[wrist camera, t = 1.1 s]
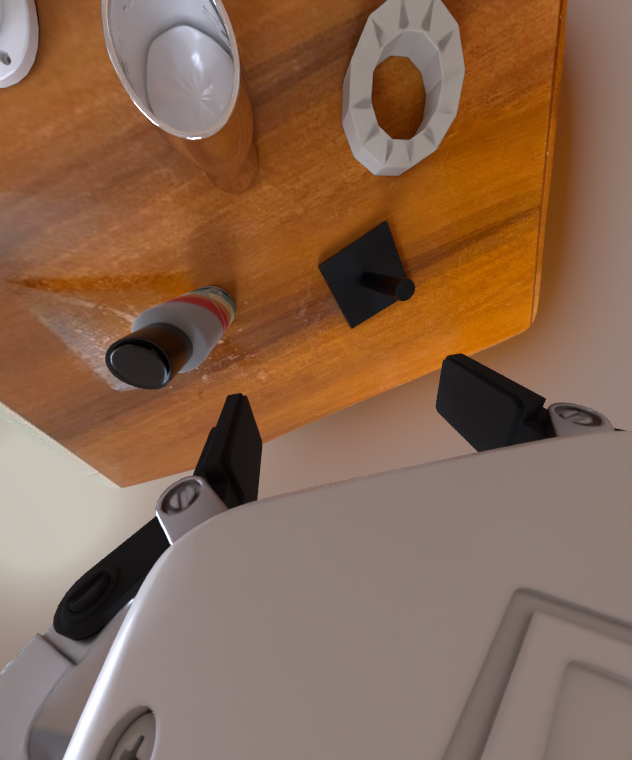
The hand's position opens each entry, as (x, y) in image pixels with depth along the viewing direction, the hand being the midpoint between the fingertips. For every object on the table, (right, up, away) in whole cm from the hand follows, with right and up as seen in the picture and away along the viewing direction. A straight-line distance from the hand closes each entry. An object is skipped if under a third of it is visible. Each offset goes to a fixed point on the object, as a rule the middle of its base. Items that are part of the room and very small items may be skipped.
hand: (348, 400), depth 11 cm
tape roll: (+7, +31, +14) cm, 34 cm away
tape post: (+5, +15, +22) cm, 27 cm away
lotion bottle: (-16, +11, +21) cm, 29 cm away
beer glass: (-11, +25, +14) cm, 31 cm away
